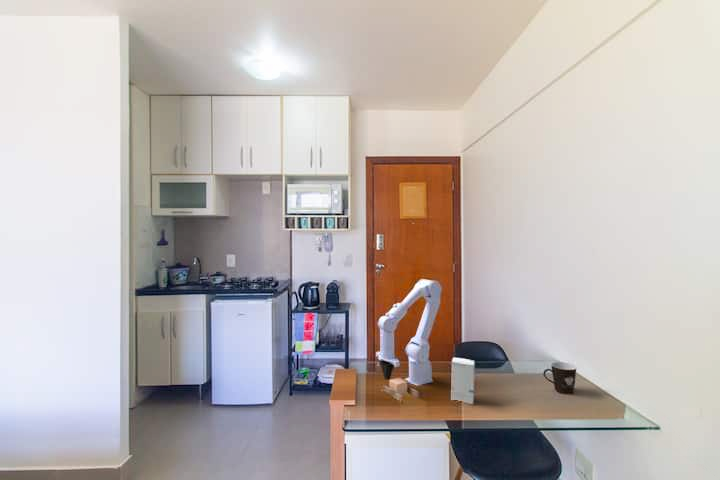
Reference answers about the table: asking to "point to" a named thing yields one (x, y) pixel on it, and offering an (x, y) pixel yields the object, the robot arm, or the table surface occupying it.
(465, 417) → the table surface
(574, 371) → the coffee mug
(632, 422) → the table surface
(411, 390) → the chute
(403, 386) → the block
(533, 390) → the table surface
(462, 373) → the skincare box
